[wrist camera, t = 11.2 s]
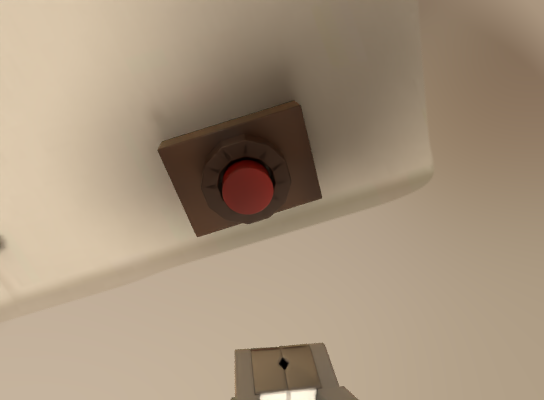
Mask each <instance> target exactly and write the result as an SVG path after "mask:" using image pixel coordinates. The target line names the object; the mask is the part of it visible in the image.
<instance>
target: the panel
mask: <svg viewBox="0 0 544 400" xmlns="http://www.w3.org/2000/svg"><path fill="white" fill-rule="evenodd" d="M158 153H159V155H160V157H161V159H162V161H163V164H164V166H165V168H166V170H167V172H168V175H169V177H170V179H171V181H172V183H173V186H174V188H175V190H176V192H177V194H178V197H179V199H180V201H181V203H182V205H183V208H184V210H185V212H186V214H187V216H188V219H189V221H190V223H191V225H192V227H193V230H194V232H195V234H196V236H197V237H200V236H203V235H206V234H209V233H212V232H216V231H219V230H222V229H225V228H228V227H232V226H235V225H238V224H241V223H245V224H251V223H254V222H257V221H260V220H263V219H267V218H269V217H271V216H272V215H273V214H274V213H276V212H280V211H283V210H286V209H289V208H292V207H296V206H299V205H302V204H305V203H308V202H312V201H315V200H318V199H321V198H322V195H321V191H320V186H319V182H318V178H317V174H316V169H315V165H314V161H313V156H312V152H311V148H310V143H309V139H308V135H307V130H306V126H305V122H304V118H303V113H302V109H301V105H300V104H298V103H297V102H296V101H291V102H287V103H284V104H281V105H278V106H275V107H271V108H268V109H265V110H262V111H259V112H255V113H252V114H249V115H246V116H243V117H239V118H236V119H233V120H230V121H227V122H223V123H220V124H217V125H214V126H210V127H207V128H204V129H201V130H198V131H194V132H191V133H188V134H185V135H182V136H178V137H175V138H172V139H169V140H166V141H162V143H161V144H160V146H159V148H158ZM242 160H252V161H256V162H258V163H260V164H261V165H263V166H264V167H265V168H266V169H267V171H268V173H269V175H270V178H271V181H272V184H273V189H274V191H273V197H272V199H271V201H270V203H269V204H268V206H267V207H266V208H264V209H263V210H262V211H260V212H258V213H255V214H247V215H246V214H240V213H237V212H235V211H233V210H232V209H230V208H229V207H228V206H227V205H226V203H225V201H224V199H223V195H222V179H223V175H224V173H225V171H226V170H227V169H228V168H229V167H230V166H231V165H232V164H234V163H236V162H238V161H242Z"/></svg>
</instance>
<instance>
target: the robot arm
mask: <svg viewBox="0 0 544 400" xmlns="http://www.w3.org/2000/svg"><path fill="white" fill-rule="evenodd" d="M231 400H358V399H357V398H356V397H355V396H354V395H353V394H352V393H351V392H349V391H348V390H347V389H346V388H345V387H344V386H341V387H339V384H338V381H337V378H336V376H335V373H334V370H333V367H332V364H331V361H330V358H329V355H328V353H327V350H326V347H325V345H324V344H323V343H314V344H300V345H289V346H279V347H270V348H253V349H238V350H235V397H234V398H232V399H231Z"/></svg>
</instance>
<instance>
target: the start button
mask: <svg viewBox="0 0 544 400" xmlns="http://www.w3.org/2000/svg"><path fill="white" fill-rule="evenodd" d="M273 191H274V189H273V184H272V181H271V178H270V175H269V173H268V171H267V169H266V168H265V167H264V166H263V165H261V164H260V163H258V162H256V161H252V160H242V161H238V162H236V163H234V164H232V165H231V166H230V167H229V168H228V169H227V170H226V171H225V173H224V175H223V179H222V195H223V199H224V201H225V203H226V205H227V206H228V207H229V208H230V209H232V210H233V211H235V212H237V213H240V214H246V215H247V214H255V213H258V212H260V211H262V210H263V209H264V208H266V207H267V206H268V204H269V203H270V201H271V199H272V197H273Z"/></svg>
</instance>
